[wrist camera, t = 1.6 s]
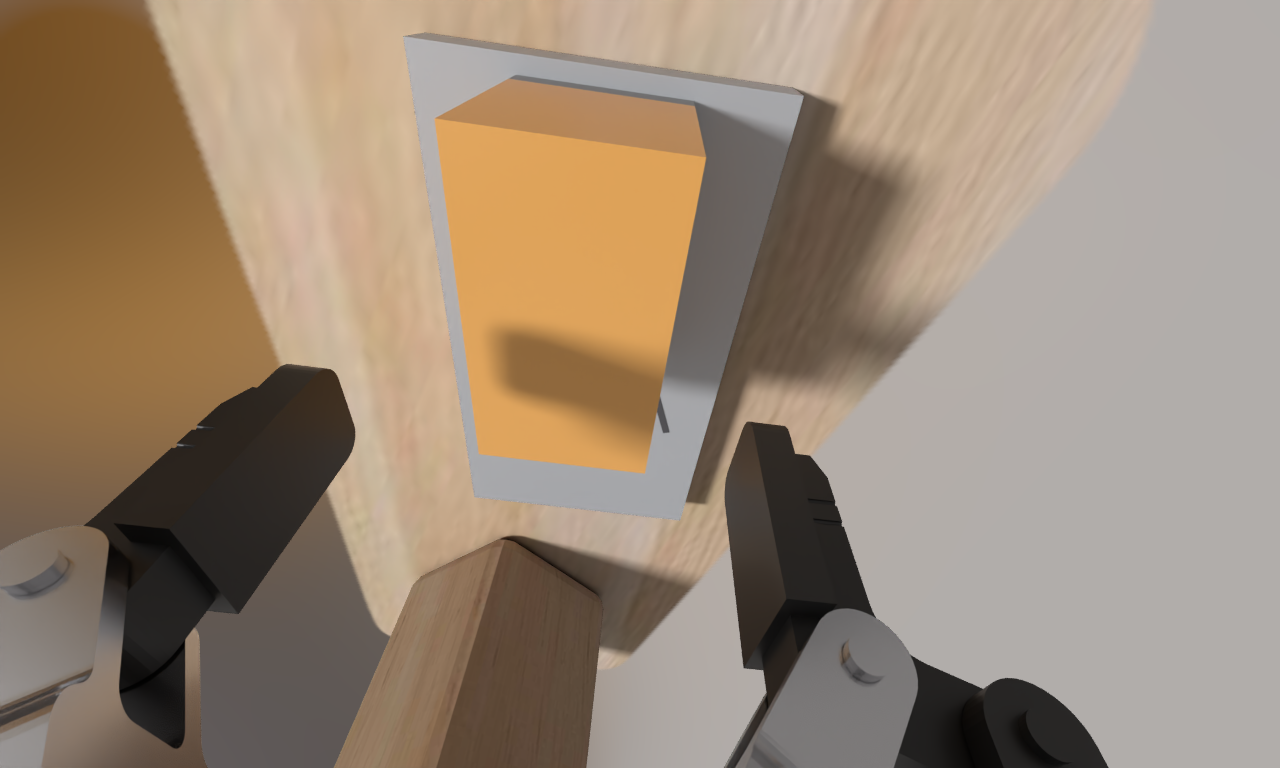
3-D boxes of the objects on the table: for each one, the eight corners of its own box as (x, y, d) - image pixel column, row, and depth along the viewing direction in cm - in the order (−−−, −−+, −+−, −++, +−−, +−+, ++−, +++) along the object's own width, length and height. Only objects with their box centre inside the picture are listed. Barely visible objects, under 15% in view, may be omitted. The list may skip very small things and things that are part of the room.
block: (610, 596, 35) (562, 1084, 19) (515, 629, 39) (413, 1054, 23) (506, 528, 30) (332, 1104, 14) (411, 574, 34) (195, 1061, 19)
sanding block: (516, 74, 13) (434, 118, 9) (693, 101, 14) (706, 157, 9) (525, 341, 19) (478, 454, 14) (650, 357, 19) (644, 473, 15)
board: (425, 32, 14) (402, 36, 13) (793, 87, 15) (804, 96, 13) (483, 475, 27) (474, 497, 26) (679, 497, 27) (679, 520, 26)
